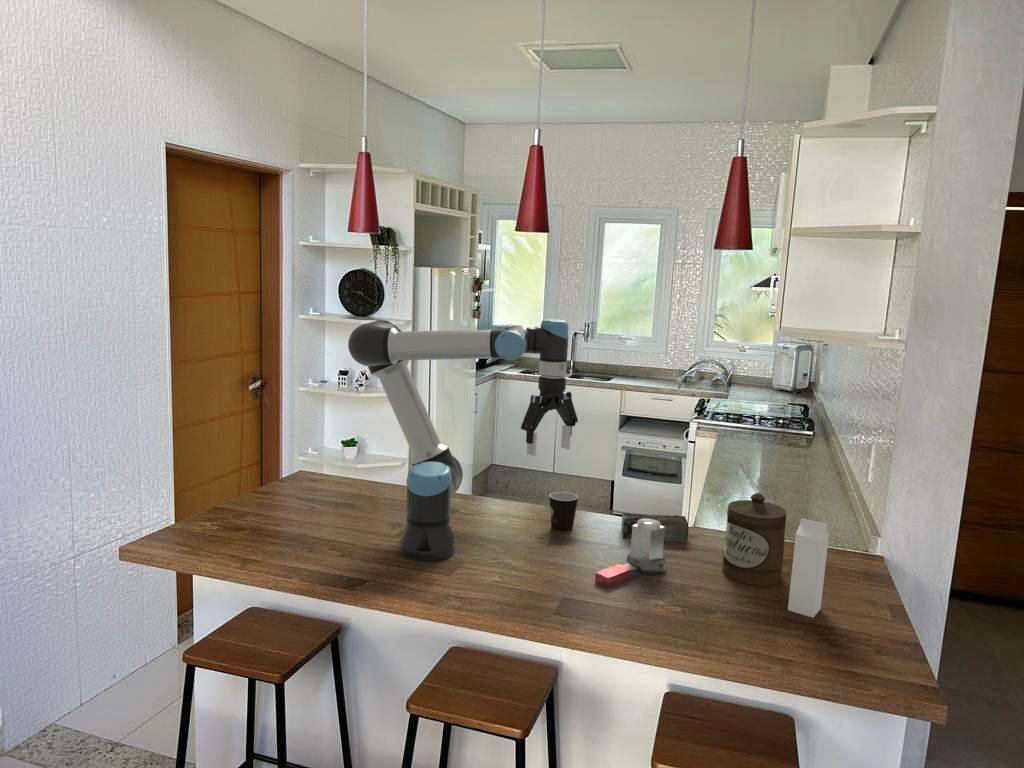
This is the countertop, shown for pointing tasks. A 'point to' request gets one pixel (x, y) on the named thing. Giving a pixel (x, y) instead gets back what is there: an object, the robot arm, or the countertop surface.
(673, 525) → the beverage carton
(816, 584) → the milk
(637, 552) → the grey faceted jar
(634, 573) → the ratchet
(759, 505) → the wooden container
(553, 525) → the coffee mug
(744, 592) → the countertop surface
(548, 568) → the countertop surface
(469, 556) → the countertop surface
